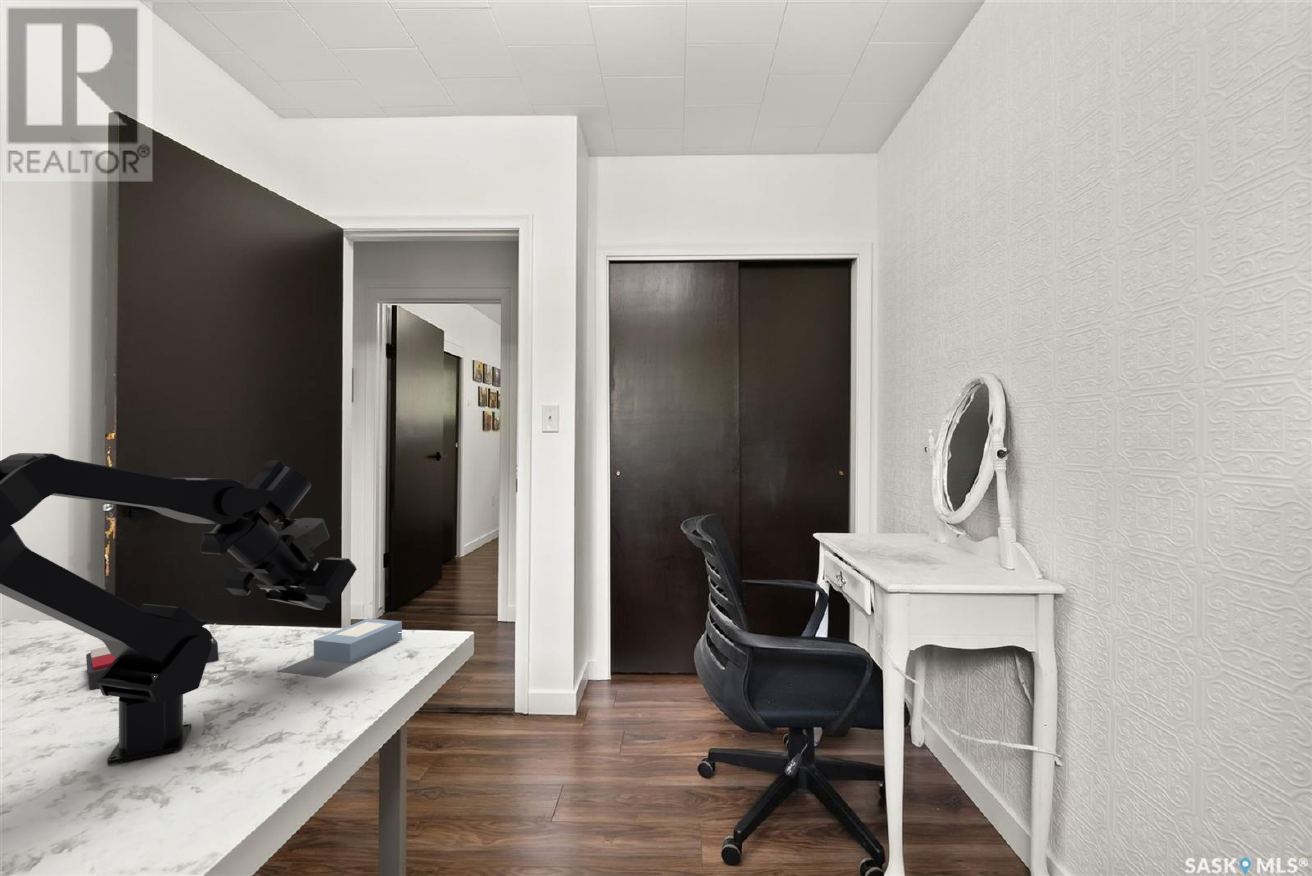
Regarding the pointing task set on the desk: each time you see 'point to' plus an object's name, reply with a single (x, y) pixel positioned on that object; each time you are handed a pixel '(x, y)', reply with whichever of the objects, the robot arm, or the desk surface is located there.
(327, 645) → the card box
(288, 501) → the robot arm
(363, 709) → the desk surface
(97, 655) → the calculator
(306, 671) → the mat
